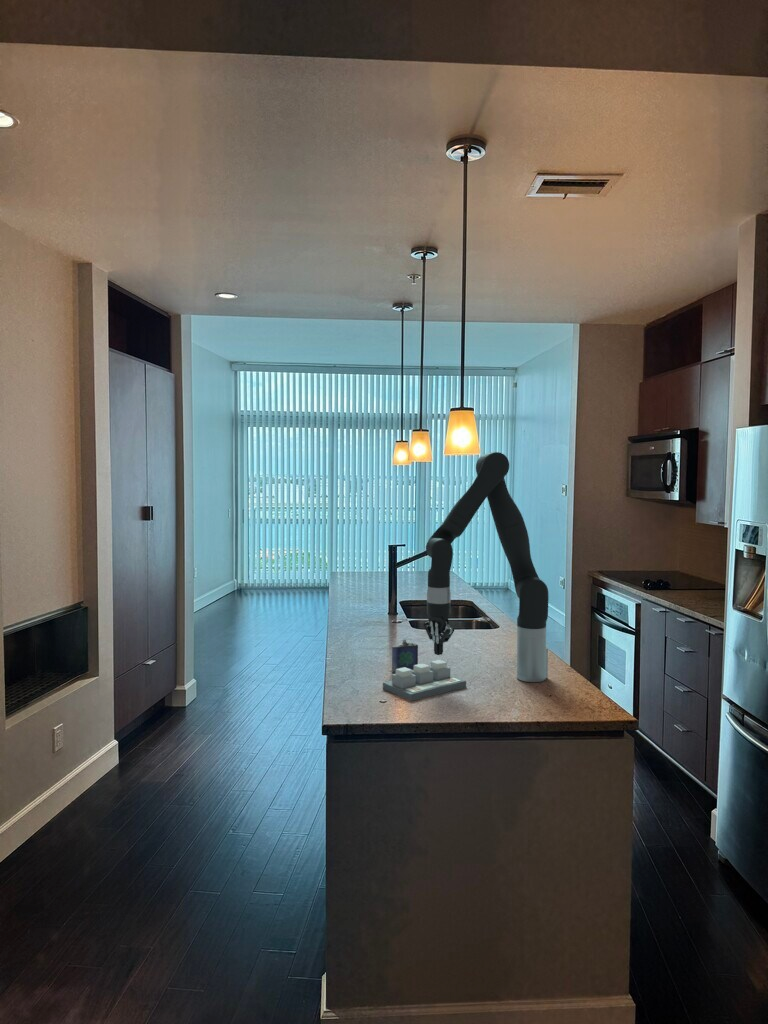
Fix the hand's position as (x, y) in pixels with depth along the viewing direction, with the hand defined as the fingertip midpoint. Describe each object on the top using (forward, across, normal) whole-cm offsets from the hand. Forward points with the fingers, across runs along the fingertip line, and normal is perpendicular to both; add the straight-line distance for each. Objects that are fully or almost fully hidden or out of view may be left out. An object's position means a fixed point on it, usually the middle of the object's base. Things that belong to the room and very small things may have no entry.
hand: (438, 654), depth 214 cm
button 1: (+6, 0, +14) cm, 15 cm away
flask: (+10, +16, +1) cm, 19 cm away
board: (+9, -2, +7) cm, 12 cm away
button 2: (+6, 0, 0) cm, 6 cm away
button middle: (+6, 0, +7) cm, 9 cm away
